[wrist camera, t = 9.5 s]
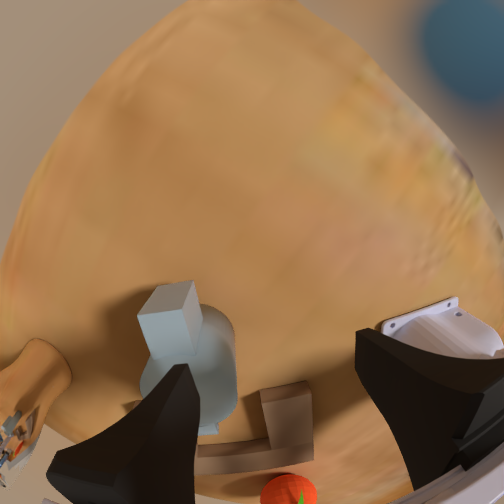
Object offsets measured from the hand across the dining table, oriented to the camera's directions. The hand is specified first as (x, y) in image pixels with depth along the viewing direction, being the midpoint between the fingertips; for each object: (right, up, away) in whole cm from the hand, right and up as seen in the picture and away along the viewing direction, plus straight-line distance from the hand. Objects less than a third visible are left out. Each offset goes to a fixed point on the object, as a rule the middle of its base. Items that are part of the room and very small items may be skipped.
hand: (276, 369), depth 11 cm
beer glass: (-22, -6, +10) cm, 25 cm away
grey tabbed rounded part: (-5, -2, +10) cm, 11 cm away
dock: (-3, -13, +12) cm, 18 cm away
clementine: (+3, -24, +15) cm, 28 cm away
